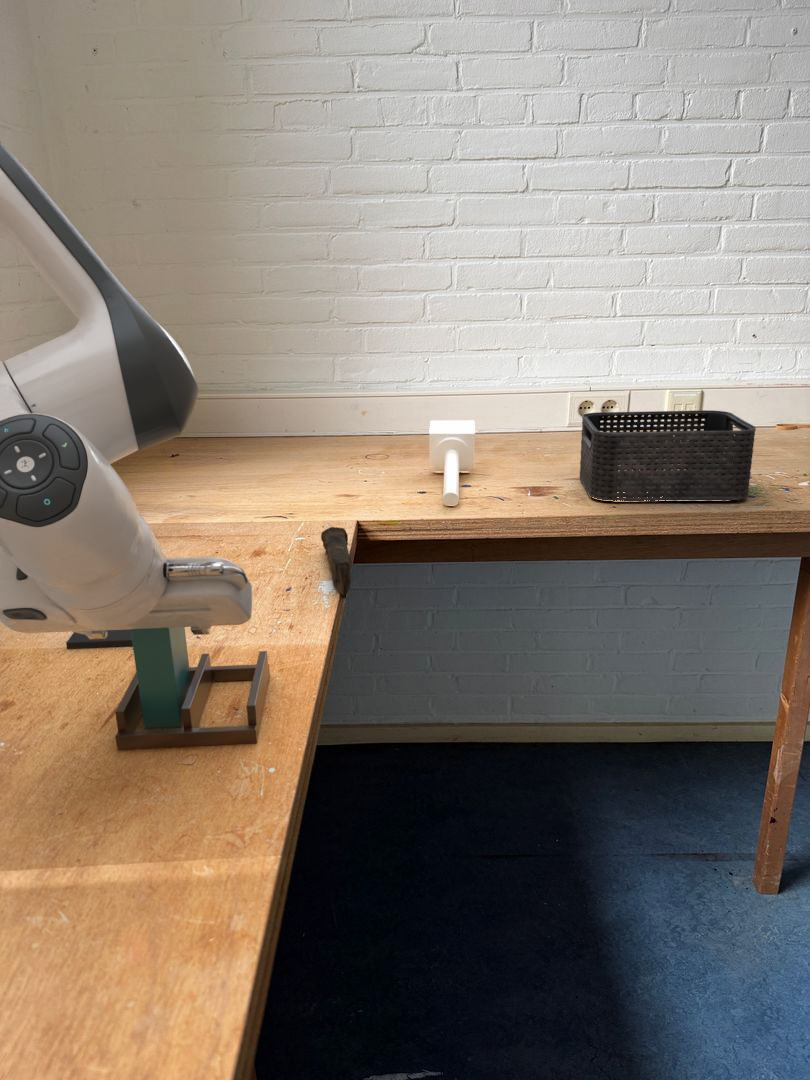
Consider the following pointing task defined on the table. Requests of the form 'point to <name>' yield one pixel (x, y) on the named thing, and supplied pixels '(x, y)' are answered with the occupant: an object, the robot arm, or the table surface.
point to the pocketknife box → (161, 674)
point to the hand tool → (338, 557)
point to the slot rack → (197, 709)
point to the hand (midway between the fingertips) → (151, 629)
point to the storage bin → (666, 456)
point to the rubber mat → (101, 640)
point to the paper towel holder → (451, 453)
